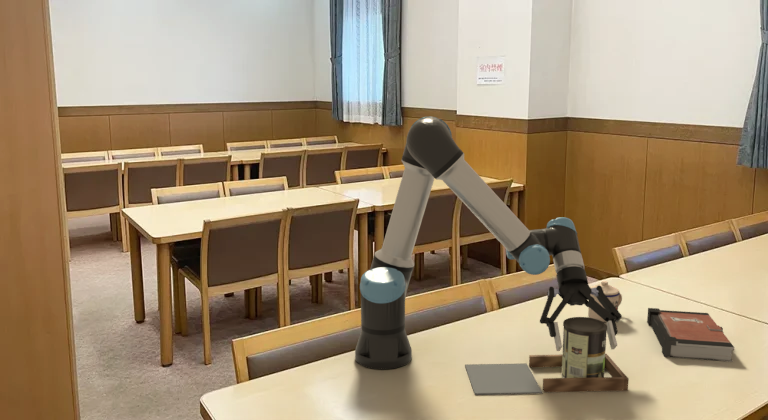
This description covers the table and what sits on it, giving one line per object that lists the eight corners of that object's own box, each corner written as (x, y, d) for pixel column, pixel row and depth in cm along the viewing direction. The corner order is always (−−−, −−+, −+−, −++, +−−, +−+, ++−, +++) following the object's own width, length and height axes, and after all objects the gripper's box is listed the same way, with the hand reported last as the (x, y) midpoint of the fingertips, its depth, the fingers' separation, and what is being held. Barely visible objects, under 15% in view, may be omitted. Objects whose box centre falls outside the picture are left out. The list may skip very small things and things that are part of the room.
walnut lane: (543, 392, 153) (544, 380, 153) (529, 365, 168) (529, 355, 167) (627, 390, 154) (628, 378, 153) (605, 364, 168) (606, 353, 168)
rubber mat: (474, 394, 152) (474, 393, 152) (464, 365, 168) (465, 364, 168) (542, 393, 153) (542, 392, 153) (526, 364, 168) (526, 363, 168)
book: (735, 363, 169) (737, 345, 168) (664, 358, 173) (665, 340, 172) (709, 327, 194) (710, 311, 193) (647, 323, 198) (648, 307, 197)
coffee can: (601, 370, 165) (604, 317, 162) (606, 388, 155) (610, 333, 152) (559, 367, 167) (561, 315, 164) (562, 385, 157) (564, 330, 154)
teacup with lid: (602, 324, 196) (604, 287, 194) (581, 315, 204) (582, 279, 202) (631, 318, 201) (633, 282, 199) (609, 309, 209) (611, 274, 207)
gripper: (612, 277, 175) (632, 352, 163) (520, 279, 174) (533, 355, 162) (621, 263, 168) (642, 340, 157) (526, 265, 168) (539, 343, 156)
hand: (586, 348), depth 159 cm, fingers open, 13 cm apart
